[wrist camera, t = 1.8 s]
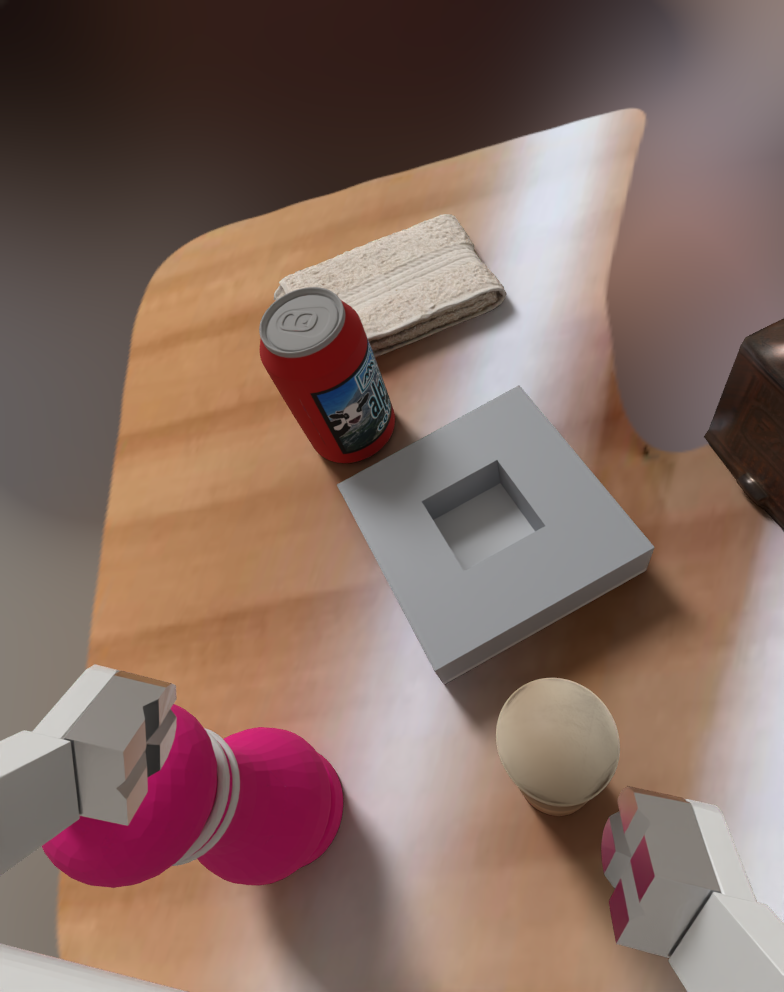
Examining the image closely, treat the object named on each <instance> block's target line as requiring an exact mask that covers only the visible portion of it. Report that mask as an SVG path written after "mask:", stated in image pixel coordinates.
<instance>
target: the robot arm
mask: <svg viewBox="0 0 784 992" xmlns="http://www.w3.org/2000/svg"><path fill="white" fill-rule="evenodd" d="M175 701H176V685H174V684H172V683H168V682H164V681H160V680H156V679H152V678H148V677H144V676H140V675H137V674H133V673H129V672H125V671H119V670H115V669H111V668H107V667H103V666H99V665H93V666H91V667H90V668H88V669H86V670H85V671H84V673H83V674H82V675H81V676H80V677H79V678H78V679H77V680H76V682H75V683H74V684H73V685H72V686H71V687H70V689H69V690H68V691H67V692H66V693H65V694H64V696H63V697H62V698H61V699H60V700H59V701H58V702H57V704H56V705H55V706H54V707H53V708H52V709H51V711H50V712H49V713H48V714H47V715H46V716H45V717H44V719H43V720H42V721H41V722H40V723H39V725H38V726H37V727H36V728H35V729H34V730H33V731H32V732H29V731H25V730H23V731H21V732H19V733H17V734H15V735H13V736H11V737H9V738H7V739H4V740H2V741H0V876H1V875H2V874H4V873H5V872H6V871H8V870H9V869H11V868H12V867H13V866H15V865H16V864H17V863H19V862H20V861H22V860H23V859H24V858H26V857H27V856H29V855H30V854H31V853H33V852H34V851H36V850H37V849H38V848H40V847H41V846H42V845H44V844H45V843H47V842H48V841H49V840H51V839H52V838H54V837H55V836H56V835H58V834H59V833H61V832H62V831H63V830H65V829H66V828H67V827H69V826H70V825H72V824H73V823H74V822H76V821H77V820H79V818H80V817H79V816H84V817H89V818H93V819H98V820H103V821H108V822H112V823H117V824H122V825H127V826H128V825H129V823H130V821H131V820H132V818H133V816H134V815H135V813H136V811H137V809H138V808H139V806H140V804H141V803H142V801H143V799H144V797H145V796H146V794H147V792H148V781H147V778H148V777H150V776H151V775H153V774H155V773H156V772H158V771H160V770H161V768H162V766H163V764H164V762H165V761H166V759H167V757H168V755H169V752H170V749H171V747H172V744H173V741H174V738H175V732H176V720H177V717H176V716H175V714H174V713H173V712H172V710H171V707H172V705H173V704H174V702H175ZM617 801H618V806H619V810H620V811H619V812H617V813H615V814H613V815H611V816H609V818H608V820H607V823H606V825H605V827H604V830H603V837H602V843H601V856H602V865H603V871H604V875H605V877H606V878H607V879H608V881H609V882H610V883H611V885H612V886H613V887H614V889H615V890H614V892H613V894H612V896H611V898H610V900H609V906H610V912H611V918H612V923H613V929H614V934H615V940H616V944H619V945H622V946H626V947H630V948H633V949H637V950H641V951H645V952H648V953H652V954H656V955H659V956H663V957H667V958H670V959H669V960H668V962H669V963H670V965H671V966H672V968H673V969H674V971H675V973H676V974H677V976H678V977H679V979H680V981H681V982H682V984H683V985H684V987H685V989H686V990H687V992H784V923H783V922H782V921H781V920H780V919H779V917H778V916H777V915H776V914H775V913H774V912H773V911H772V910H771V909H770V908H769V907H768V906H767V905H766V904H762V903H759V902H757V900H756V898H755V895H754V893H753V890H752V887H751V885H750V882H749V880H748V877H747V875H746V872H745V870H744V867H743V865H742V862H741V859H740V857H739V854H738V852H737V849H736V847H735V844H734V842H733V839H732V836H731V834H730V831H729V829H728V826H727V824H726V821H725V819H724V816H723V814H722V811H721V810H720V809H719V808H718V807H717V806H716V805H712V804H707V803H703V802H698V801H694V800H689V799H684V798H681V797H677V796H672V795H667V794H663V793H658V792H653V791H649V790H644V789H639V788H635V787H630V786H627V787H625V788H624V789H623V790H622V791H621V793H620V795H619V797H618V799H617ZM0 992H188V991H184V990H180V989H176V988H172V987H168V986H165V985H161V984H157V983H153V982H149V981H145V980H141V979H137V978H133V977H129V976H126V975H122V974H118V973H114V972H110V971H106V970H102V969H98V968H94V967H90V966H87V965H83V964H79V963H75V962H71V961H67V960H63V959H59V958H55V957H51V956H47V955H44V954H40V953H36V952H32V951H28V950H24V949H20V948H16V947H12V946H8V945H4V944H1V943H0Z"/></svg>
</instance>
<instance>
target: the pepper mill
mask: <svg viewBox="0 0 784 992" xmlns="http://www.w3.org/2000/svg"><path fill="white" fill-rule="evenodd" d="M171 710H172V712H173V713H174V714H175V716H176V717H177V720H176V732H175V738H174V741H173V744H172V747H171V749H170V752H169V755H168V757H167V759H166V761H165V762H164V764H163V766H162V768H161V770H160V771H158V772H156V773H155V774H153V775H151V776H150V777H148V778H147V781H148V792H147V794H146V796H145V797H144V799H143V801H142V803H141V804H140V806H139V808H138V809H137V811H136V813H135V815H134V816H133V818H132V820H131V821H130V823H129V825H128V826H127V825H122V824H117V823H112V822H108V821H103V820H98V819H93V818H89V817H84V816H79V817H80V818H79V820H77V821H76V822H74V823H73V824H72V825H70V826H69V827H67V828H66V829H65V830H63V831H62V832H61V833H59V834H58V835H56V836H55V837H54V838H52V839H51V840H49V841H48V842H47V843H45V844H44V845H42V848H43V850H44V852H45V854H46V855H47V856H48V858H49V859H50V860H51V861H52V863H53V864H54V865H55V866H56V867H57V868H59V869H60V870H61V871H63V872H64V873H65V874H67V875H68V876H69V877H71V878H73V879H75V880H77V881H80V882H82V883H85V884H88V885H93V886H102V887H112V888H115V887H122V886H129V885H134V884H138V883H141V882H143V881H146V880H148V879H150V878H153V877H155V876H157V875H159V874H161V873H162V872H163V871H165V870H166V869H168V868H169V867H171V866H176V865H182V864H185V863H188V862H191V861H193V860H195V859H198V860H199V861H200V863H201V864H203V865H204V866H205V867H206V868H207V869H208V870H210V871H211V872H213V873H214V874H215V875H217V876H219V877H221V878H222V879H224V880H227V881H229V882H232V883H237V884H245V885H265V884H271V883H274V882H276V881H279V880H282V879H284V878H285V877H287V876H289V875H290V874H292V873H294V872H295V871H296V870H298V869H299V868H300V867H303V866H305V865H308V864H310V863H311V862H313V861H314V860H316V859H317V858H318V857H320V856H321V855H322V854H323V853H324V852H325V851H326V849H327V848H328V847H329V845H330V844H331V842H332V841H333V839H334V837H335V835H336V833H337V831H338V829H339V826H340V822H341V818H342V812H343V793H342V788H341V783H340V781H339V778H338V776H337V774H336V772H335V770H334V768H333V767H332V765H331V764H330V763H329V762H328V761H327V760H326V759H325V758H324V757H323V756H322V755H320V754H319V753H317V752H316V751H315V749H314V748H313V747H312V746H311V745H310V744H309V743H308V742H306V741H305V740H304V739H303V738H301V737H300V736H298V735H296V734H295V733H292V732H289V731H287V730H282V729H276V728H264V727H258V728H252V729H247V730H244V731H241V732H238V733H235V734H233V735H230V736H228V737H226V738H224V739H222V738H221V737H220V736H219V735H218V734H216V733H215V732H213V731H211V730H208V729H205V728H203V727H202V725H201V724H200V723H199V721H198V720H197V719H196V718H195V717H194V716H193V715H191V714H190V713H189V712H187V711H186V710H185V709H183V708H181V707H179V706H177V705H175V704H173V705H172V707H171Z"/></svg>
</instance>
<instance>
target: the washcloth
mask: <svg viewBox="0 0 784 992" xmlns="http://www.w3.org/2000/svg"><path fill="white" fill-rule="evenodd" d="M279 283H280V286H279V287H278V289H277V290H276V291H275V294H274V300H278V299H279V298H280V297H282V296H284V295H285V294H287V293H289V292H292V291H294V290H297V289H301V288H307V287H320V288H325V289H328V290H330V291H332V292H333V293H335V294H336V295H337V296H338V297H339V298H340V300H342V301H343V302H345V303H347V304H348V305H350V306H351V307H352V308H353V309H354V310H355V311H356V312H357V314H358V315H359V317H360V320H361V322H362V325H363V328H364V330H365V333H366V335H367V338H368V341H369V343H370V346H371V349H372V351H373V354H374V357H375V358H376V357H378V356H380V355H383V354H385V353H388V352H390V351H393V350H395V349H397V348H400V347H403V346H405V345H408V344H410V343H413V342H415V341H418V340H420V339H423V338H425V337H428V336H430V335H432V334H435V333H437V332H439V331H442V330H444V329H446V328H448V327H451V326H454V325H457V324H459V323H461V322H465V321H467V320H470V319H472V318H475V317H477V316H480V315H482V314H484V313H487V312H489V311H491V310H493V309H494V308H496V307H498V306H499V305H500V304H501V303H502V302H503V300H504V299H505V297H506V292H505V290H504V287H503V286H502V284H501V283H500V282H499V280H498V279H497V278H496V276H495V275H494V274H493V273H492V272H491V271H490V270H489V269H488V268H487V266H486V265H484V264H483V263H482V262H481V261H480V259H479V257H478V256H477V255H476V253H475V252H474V245H473V244H472V242H471V240H470V239H469V236H468V235H467V233H466V232H465V230H464V228H463V227H462V226H461V225H460V223H459V222H458V220H457V219H456V218H455V216H453V215H447V214H444V215H439V216H438V217H435V218H433V219H429V220H427V221H424V222H422V223H418V224H417V225H413V226H412V227H410V228H408V229H407V230H406V229H405V230H402V231H400V232H396V233H393V234H392V235H388V236H386V237H382V238H380V239H377V240H375V241H372V242H369V243H368V244H366V245H364V246H361V247H356V248H354V249H353V250H351V251H346V252H345V253H344V254H341V255H338V256H336V257H335V258H333V259H329V260H326V261H324V262H322V263H319V264H317V265H316V266H311V267H308V268H306V269H303V270H300V271H298V272H295V273H294V274H291V275H288V276H286V277H285V278H283V279H282V280H281V281H280V282H279Z"/></svg>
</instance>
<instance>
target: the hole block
mask: <svg viewBox="0 0 784 992" xmlns="http://www.w3.org/2000/svg"><path fill="white" fill-rule="evenodd" d="M337 486H338V488H339V490H340V492H341V494H342V495H343V497H344V499H345V501H346V503H347V505H348V507H349V509H350V511H351V513H352V514H353V516H354V518H355V520H356V522H357V524H358V526H359V528H360V530H361V532H362V534H363V535H364V537H365V539H366V541H367V543H368V545H369V547H370V549H371V551H372V553H373V555H374V556H375V558H376V560H377V562H378V564H379V566H380V568H381V570H382V572H383V574H384V576H385V577H386V579H387V581H388V583H389V585H390V587H391V589H392V591H393V593H394V595H395V597H396V598H397V600H398V602H399V604H400V606H401V608H402V610H403V612H404V614H405V616H406V618H407V619H408V621H409V623H410V625H411V627H412V629H413V631H414V633H415V635H416V637H417V639H418V640H419V642H420V644H421V646H422V648H423V650H424V652H425V654H426V656H427V658H428V660H429V661H430V663H431V665H432V667H433V669H434V671H435V672H436V674H437V675H438V677H439V678H440V680H441V681H442V682H443V684H446V683H448V682H450V681H451V680H453V679H455V678H457V677H458V676H460V675H462V674H464V673H466V672H467V671H469V670H471V669H473V668H474V667H476V666H478V665H480V664H481V663H483V662H485V661H487V660H489V659H490V658H492V657H494V656H496V655H497V654H499V653H501V652H503V651H504V650H506V649H508V648H510V647H512V646H513V645H515V644H517V643H519V642H520V641H522V640H524V639H526V638H528V637H529V636H531V635H533V634H535V633H536V632H538V631H540V630H542V629H543V628H545V627H547V626H549V625H551V624H552V623H554V622H556V621H558V620H559V619H561V618H563V617H565V616H566V615H568V614H570V613H572V612H574V611H575V610H577V609H579V608H581V607H582V606H584V605H586V604H588V603H589V602H591V601H593V600H595V599H597V598H598V597H600V596H602V595H604V594H605V593H607V592H609V591H611V590H613V589H614V588H616V587H618V586H620V585H621V584H623V583H625V582H627V581H628V580H630V579H632V578H634V577H636V576H637V575H639V574H641V573H643V572H644V571H646V569H647V567H648V564H649V561H650V558H651V555H652V553H653V550H654V546H653V545H652V544H651V543H650V541H649V540H648V539H647V538H646V537H645V535H644V534H643V533H642V532H641V531H640V529H639V528H638V527H637V526H636V525H635V523H634V522H633V521H632V520H631V519H630V517H629V516H628V515H627V514H626V513H625V511H624V510H623V509H622V508H621V507H620V505H619V504H618V503H617V502H616V501H615V499H614V498H613V497H612V496H611V495H610V493H609V492H608V491H607V490H606V489H605V487H604V486H603V485H602V484H601V483H600V481H599V480H598V479H597V478H596V477H595V475H594V474H593V473H592V472H591V471H590V469H589V468H588V467H587V466H586V465H585V463H584V462H583V461H582V460H581V459H580V457H579V456H578V455H577V454H576V453H575V451H574V450H573V449H572V448H571V447H570V445H569V444H568V443H567V442H566V441H565V439H564V438H563V437H562V436H561V435H560V434H559V432H558V431H557V430H556V429H555V428H554V426H553V425H552V424H551V423H550V422H549V420H548V419H547V418H546V417H545V416H544V414H543V413H542V412H541V411H540V410H539V408H538V407H537V406H536V405H535V404H534V402H533V401H532V400H531V399H530V398H529V396H528V395H527V394H526V393H525V392H524V390H523V389H522V388H521V387H520V386H517V387H515V388H513V389H511V390H510V391H508V392H506V393H504V394H502V395H500V396H499V397H497V398H495V399H493V400H491V401H489V402H488V403H486V404H484V405H482V406H480V407H478V408H477V409H475V410H473V411H471V412H469V413H467V414H466V415H464V416H462V417H460V418H458V419H456V420H455V421H453V422H451V423H449V424H447V425H445V426H444V427H442V428H440V429H438V430H436V431H434V432H433V433H431V434H429V435H427V436H425V437H423V438H422V439H420V440H418V441H416V442H414V443H412V444H411V445H409V446H407V447H405V448H403V449H401V450H400V451H398V452H396V453H394V454H392V455H390V456H389V457H387V458H385V459H383V460H381V461H379V462H378V463H376V464H374V465H372V466H370V467H368V468H366V469H365V470H363V471H361V472H359V473H357V474H355V475H354V476H352V477H350V478H348V479H346V480H344V481H343V482H341V483H339V484H337Z"/></svg>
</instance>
